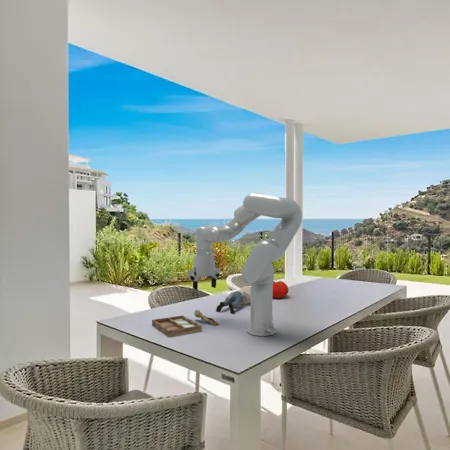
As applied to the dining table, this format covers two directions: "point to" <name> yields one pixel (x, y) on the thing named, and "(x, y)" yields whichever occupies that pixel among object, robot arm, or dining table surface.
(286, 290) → the tomato
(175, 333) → the wooden compartment tray
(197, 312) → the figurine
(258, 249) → the robot arm
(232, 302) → the toy
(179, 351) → the dining table surface
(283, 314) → the dining table surface
